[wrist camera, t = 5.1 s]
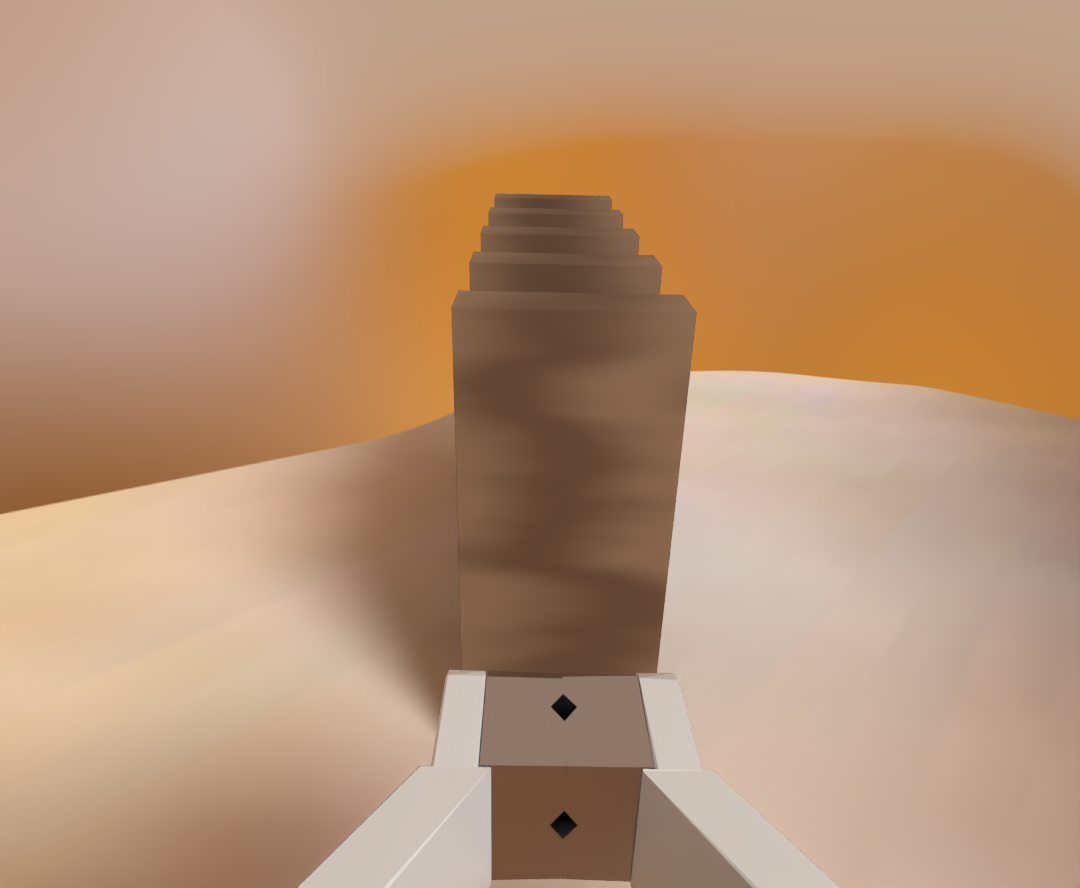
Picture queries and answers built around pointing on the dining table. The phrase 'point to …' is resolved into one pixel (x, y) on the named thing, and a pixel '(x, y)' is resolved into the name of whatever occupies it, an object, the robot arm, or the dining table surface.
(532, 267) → the domino
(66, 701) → the dining table surface
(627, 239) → the domino
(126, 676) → the dining table surface
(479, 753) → the robot arm
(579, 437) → the domino
